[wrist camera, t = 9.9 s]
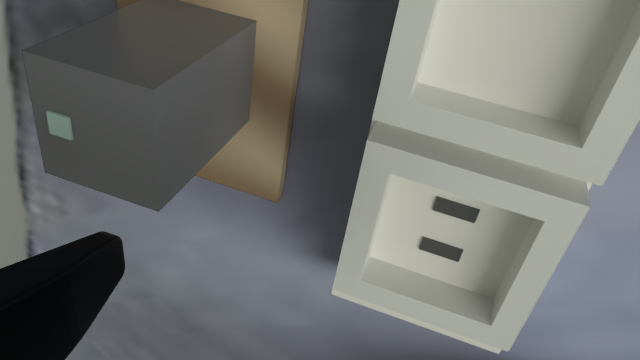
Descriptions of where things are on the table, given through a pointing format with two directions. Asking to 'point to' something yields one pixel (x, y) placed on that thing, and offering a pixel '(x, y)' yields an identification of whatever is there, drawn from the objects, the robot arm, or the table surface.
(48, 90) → the block
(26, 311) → the robot arm
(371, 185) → the power strip
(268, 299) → the table surface
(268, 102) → the cork pad
